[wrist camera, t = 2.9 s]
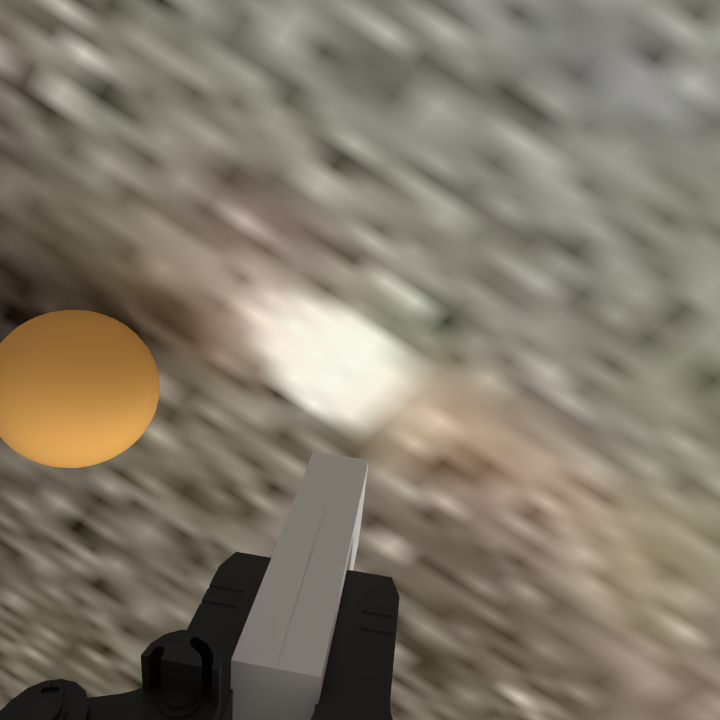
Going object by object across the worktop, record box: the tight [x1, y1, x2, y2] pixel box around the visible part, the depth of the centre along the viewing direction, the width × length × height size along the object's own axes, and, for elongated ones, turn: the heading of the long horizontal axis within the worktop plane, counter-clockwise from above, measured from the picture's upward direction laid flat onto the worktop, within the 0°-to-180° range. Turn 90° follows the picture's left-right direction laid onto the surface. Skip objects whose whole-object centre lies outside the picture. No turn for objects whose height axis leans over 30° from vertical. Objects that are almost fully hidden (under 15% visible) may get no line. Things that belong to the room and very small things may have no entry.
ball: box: [0, 310, 160, 468], centre depth 20 cm, size 6×6×6 cm
